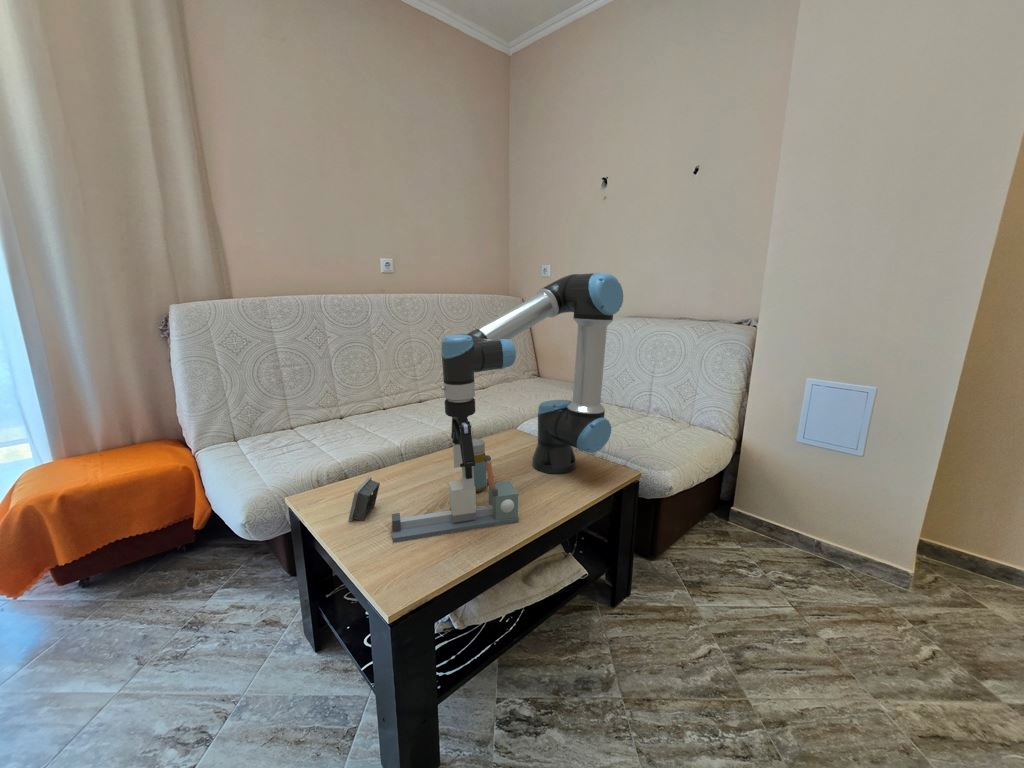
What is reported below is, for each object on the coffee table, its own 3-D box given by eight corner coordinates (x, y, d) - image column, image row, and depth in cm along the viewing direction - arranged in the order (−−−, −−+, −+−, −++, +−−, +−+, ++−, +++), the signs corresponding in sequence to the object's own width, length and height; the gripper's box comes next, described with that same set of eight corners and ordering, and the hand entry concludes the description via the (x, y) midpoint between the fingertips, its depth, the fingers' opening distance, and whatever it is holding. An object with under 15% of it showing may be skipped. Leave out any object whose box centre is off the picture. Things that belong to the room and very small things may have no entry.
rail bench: (509, 505, 119) (509, 474, 117) (518, 522, 110) (518, 488, 108) (392, 523, 110) (390, 489, 108) (393, 542, 101) (390, 506, 99)
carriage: (472, 509, 113) (471, 479, 111) (476, 519, 109) (475, 487, 107) (450, 513, 112) (449, 482, 110) (453, 522, 107) (452, 490, 105)
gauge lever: (493, 482, 113) (488, 451, 111) (497, 489, 109) (492, 457, 107) (486, 484, 113) (481, 453, 110) (490, 491, 109) (485, 459, 106)
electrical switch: (362, 504, 119) (363, 474, 117) (380, 506, 119) (381, 477, 117) (347, 522, 110) (348, 490, 108) (367, 525, 110) (367, 493, 108)
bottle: (483, 494, 125) (482, 447, 122) (460, 492, 127) (459, 445, 123) (488, 483, 132) (488, 439, 129) (467, 481, 133) (466, 437, 130)
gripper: (438, 388, 114) (442, 460, 119) (452, 414, 90) (457, 503, 95) (465, 385, 116) (468, 456, 121) (486, 410, 92) (489, 497, 97)
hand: (463, 477), depth 108 cm, fingers open, 13 cm apart
